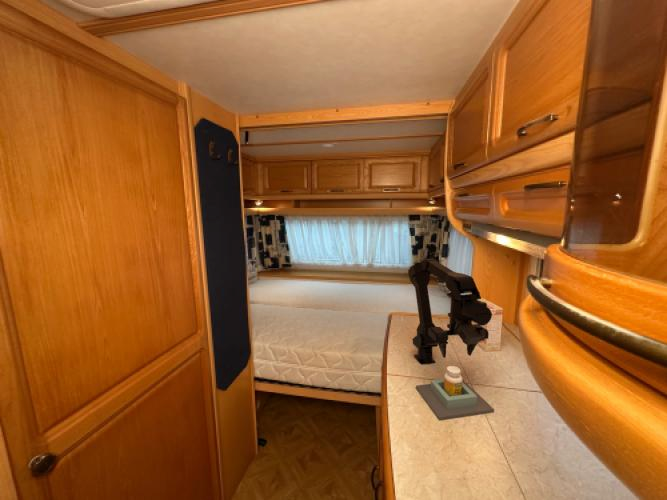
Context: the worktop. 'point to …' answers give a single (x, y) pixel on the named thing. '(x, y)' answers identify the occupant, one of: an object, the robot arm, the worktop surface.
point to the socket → (453, 401)
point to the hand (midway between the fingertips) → (456, 356)
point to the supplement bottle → (453, 381)
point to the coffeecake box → (492, 328)
